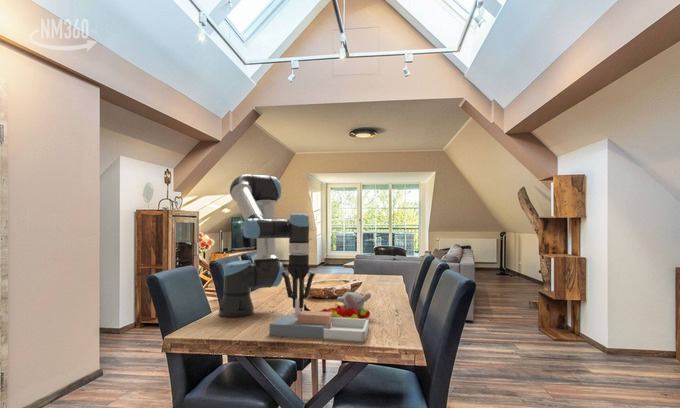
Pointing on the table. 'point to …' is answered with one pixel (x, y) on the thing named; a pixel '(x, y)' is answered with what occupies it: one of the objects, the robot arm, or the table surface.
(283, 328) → the flat grey box
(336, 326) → the box
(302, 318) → the tile
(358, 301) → the toy
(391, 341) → the table surface
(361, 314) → the figurine
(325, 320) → the tile
